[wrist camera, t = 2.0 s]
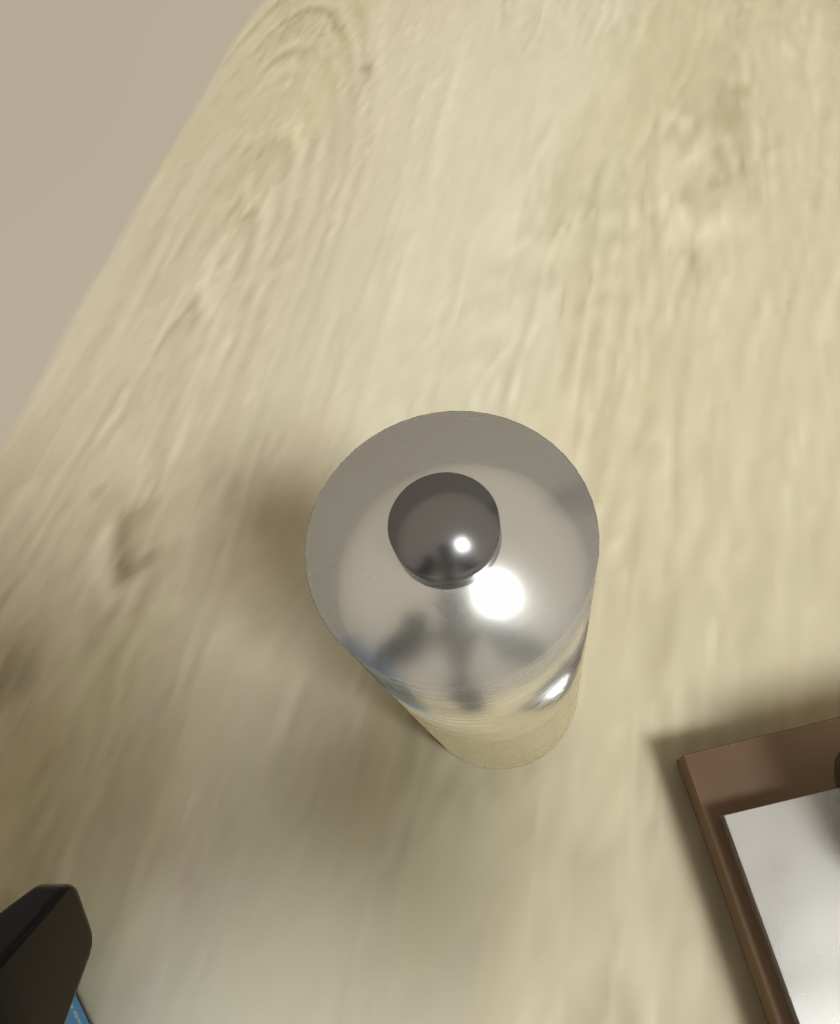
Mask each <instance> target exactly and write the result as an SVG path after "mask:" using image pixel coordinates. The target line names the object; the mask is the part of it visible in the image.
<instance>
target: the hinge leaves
mask: <svg viewBox="0 0 840 1024" xmlns="http://www.w3.org/2000/svg"><path fill="white" fill-rule="evenodd" d="M834 777H835V784H836V789H833V790H829V791H825V792H820V793H816V794H812V795H808V796H804V797H800V798H796V799H791V800H787V801H783V802H779V803H775V804H771V805H766V806H762V807H758V808H754V809H750V810H746V811H742V812H737V813H733V814H729V815H725V816H721V817H719V818H720V820H721V823H722V826H723V829H724V831H725V834H726V837H727V840H728V843H729V845H730V848H731V851H732V854H733V856H734V859H735V862H736V865H737V867H738V870H739V873H740V876H741V879H742V881H743V884H744V887H745V890H746V892H747V895H748V898H749V901H750V903H751V906H752V909H753V912H754V915H755V917H756V920H757V923H758V926H759V928H760V931H761V934H762V937H763V939H764V942H765V945H766V948H767V951H768V953H769V956H770V959H771V962H772V964H773V967H774V970H775V973H776V976H777V978H778V981H779V984H780V987H781V989H782V992H783V995H784V998H785V1000H786V1003H787V1006H788V1009H789V1012H790V1014H791V1017H792V1020H793V1023H794V1024H840V752H839V753H838V754H837V756H836V758H835V763H834Z"/></svg>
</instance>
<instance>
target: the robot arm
mask: <svg viewBox="0 0 840 1024" xmlns="http://www.w3.org/2000/svg"><path fill="white" fill-rule="evenodd" d="M91 947H92V932H91V928H90V925H89V923H88V920H87V917H86V914H85V911H84V908H83V905H82V902H81V900H80V897H79V894H78V892H77V890H76V889H75V888H74V887H73V886H72V885H69V884H42V885H39V886H37V887H35V888H33V889H32V890H30V891H29V892H28V893H26V894H25V895H24V896H22V897H21V898H20V899H18V900H17V901H16V902H14V903H13V904H12V905H10V906H9V907H8V908H6V909H5V910H4V911H2V912H1V913H0V1024H65V1022H66V1019H67V1016H68V1014H69V1011H70V1008H71V1005H72V1002H73V1000H74V997H75V994H76V991H77V989H78V986H79V983H80V980H81V978H82V975H83V972H84V969H85V967H86V964H87V961H88V958H89V955H90V951H91Z"/></svg>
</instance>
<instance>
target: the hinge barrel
mask: <svg viewBox="0 0 840 1024" xmlns="http://www.w3.org/2000/svg"><path fill="white" fill-rule="evenodd" d="M598 557H599V529H598V521H597V516H596V512H595V508H594V505H593V501H592V498H591V496H590V494H589V492H588V489H587V487H586V485H585V483H584V481H583V479H582V478H581V476H580V475H579V473H578V471H577V470H576V468H575V467H574V466H573V464H572V463H571V462H570V461H569V460H568V458H567V457H566V456H565V455H564V454H563V453H562V452H561V451H560V450H559V449H558V448H557V447H556V446H555V445H553V444H552V443H551V442H550V441H548V440H547V439H546V438H544V437H543V436H541V435H540V434H539V433H537V432H535V431H533V430H532V429H530V428H528V427H526V426H524V425H522V424H520V423H517V422H515V421H512V420H509V419H507V418H504V417H500V416H496V415H492V414H488V413H480V412H473V411H446V412H436V413H431V414H426V415H421V416H417V417H414V418H411V419H408V420H405V421H402V422H399V423H397V424H395V425H393V426H391V427H388V428H386V429H384V430H382V431H381V432H379V433H377V434H376V435H374V436H373V437H371V438H369V439H368V440H367V441H365V442H364V443H363V444H361V445H360V446H359V447H358V448H356V449H355V450H354V451H353V452H352V453H351V454H350V455H349V456H348V457H347V458H346V459H345V460H344V461H343V462H342V463H341V464H340V465H339V466H338V468H337V469H336V470H335V471H334V473H333V474H332V475H331V477H330V478H329V480H328V481H327V483H326V485H325V486H324V488H323V489H322V491H321V493H320V495H319V497H318V500H317V502H316V504H315V506H314V509H313V512H312V515H311V518H310V521H309V526H308V531H307V537H306V547H305V564H306V574H307V579H308V584H309V588H310V592H311V595H312V598H313V600H314V603H315V605H316V608H317V610H318V612H319V614H320V616H321V617H322V619H323V621H324V623H325V624H326V626H327V627H328V629H329V630H330V631H331V632H332V634H333V635H334V636H335V638H336V639H337V640H338V641H339V642H340V643H341V644H342V645H343V646H344V647H345V648H346V649H347V650H348V651H349V652H350V653H351V654H352V655H353V656H354V657H355V658H356V659H357V660H358V661H359V662H360V663H361V664H362V665H363V666H364V667H365V668H366V669H367V670H368V671H369V672H370V673H371V674H372V675H373V676H374V677H375V678H376V679H377V680H378V681H379V682H380V683H381V684H382V685H383V686H384V687H385V688H386V689H387V690H388V691H389V692H390V693H391V694H392V695H393V696H394V697H395V698H396V699H397V700H398V701H399V702H400V703H401V704H402V705H403V706H404V707H405V708H406V709H407V710H408V711H409V712H410V713H411V714H412V715H413V716H414V717H415V718H416V719H417V720H418V721H419V722H420V723H421V724H422V725H423V726H424V727H425V728H426V729H427V730H428V731H429V732H430V733H431V734H432V735H433V736H434V737H435V738H436V739H437V740H438V741H439V742H440V743H441V744H442V745H443V746H444V747H445V748H446V749H447V750H448V751H449V752H451V753H452V754H453V755H455V756H456V757H458V758H460V759H462V760H463V761H465V762H468V763H470V764H473V765H476V766H480V767H484V768H492V769H507V768H513V767H518V766H522V765H525V764H528V763H530V762H532V761H534V760H536V759H538V758H540V757H541V756H543V755H544V754H546V753H547V752H548V751H549V750H551V749H552V748H553V747H554V746H555V745H556V744H557V743H558V741H559V740H560V739H561V738H562V737H563V735H564V734H565V732H566V730H567V729H568V727H569V725H570V723H571V720H572V718H573V715H574V712H575V709H576V703H577V697H578V690H579V683H580V677H581V670H582V663H583V657H584V650H585V643H586V637H587V630H588V624H589V617H590V610H591V604H592V597H593V590H594V584H595V577H596V570H597V564H598Z"/></svg>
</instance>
